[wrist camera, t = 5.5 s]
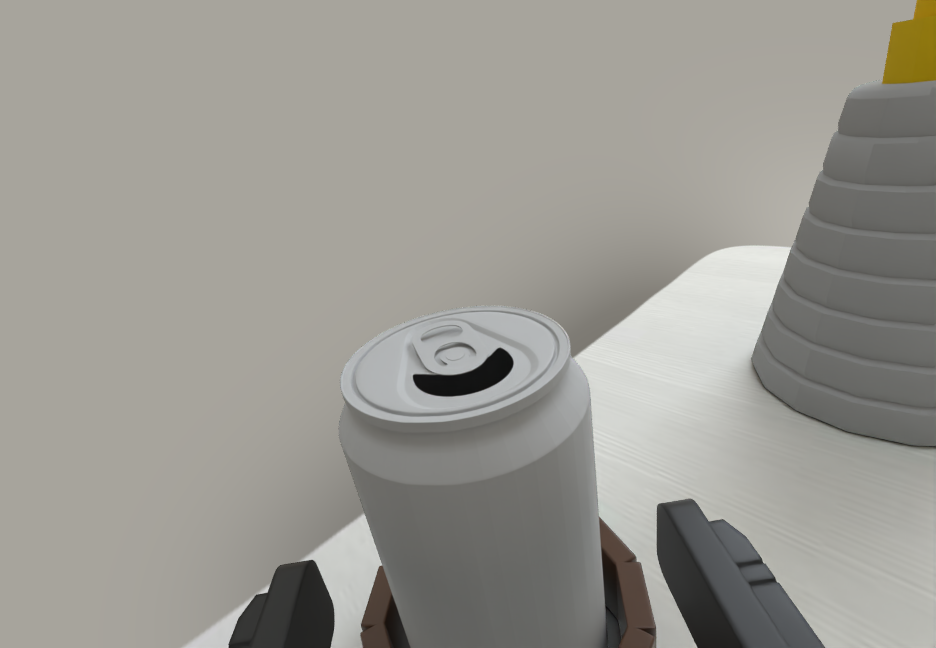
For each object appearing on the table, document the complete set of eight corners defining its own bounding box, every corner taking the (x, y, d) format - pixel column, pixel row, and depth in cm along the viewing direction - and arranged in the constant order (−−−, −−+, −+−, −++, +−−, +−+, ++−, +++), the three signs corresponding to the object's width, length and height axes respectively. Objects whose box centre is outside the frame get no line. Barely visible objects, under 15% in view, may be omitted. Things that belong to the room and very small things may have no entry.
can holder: (349, 813, 14) (318, 758, 12) (415, 543, 22) (401, 493, 20) (688, 841, 12) (692, 780, 11) (624, 539, 20) (622, 484, 19)
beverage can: (455, 811, 13) (333, 476, 8) (405, 608, 19) (315, 336, 14) (651, 703, 15) (648, 365, 10) (551, 545, 20) (517, 279, 15)
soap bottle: (1145, 436, 20) (1490, -220, 12) (828, 462, 22) (937, -106, 13) (915, 315, 32) (1010, -68, 23) (716, 337, 33) (737, -15, 25)
